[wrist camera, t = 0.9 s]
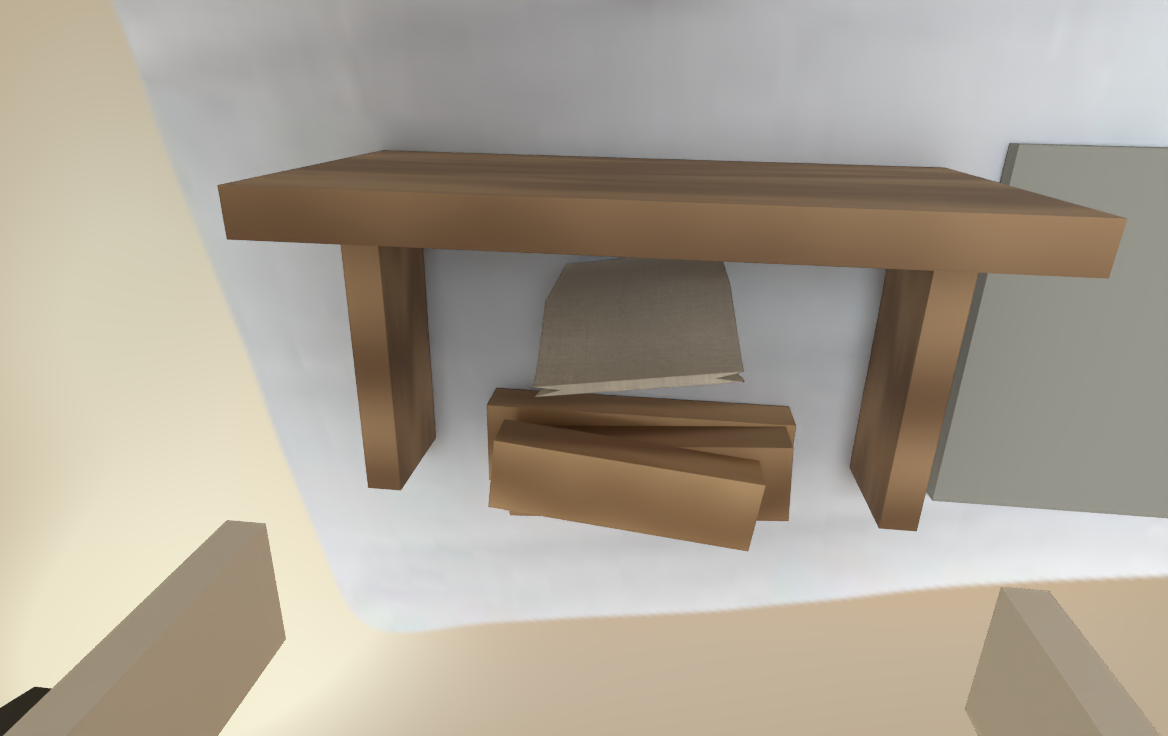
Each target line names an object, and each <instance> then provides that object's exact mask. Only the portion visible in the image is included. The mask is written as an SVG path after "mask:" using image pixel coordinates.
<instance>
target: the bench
mask: <svg viewBox="0 0 1168 736" xmlns="http://www.w3.org/2000/svg"><path fill="white" fill-rule="evenodd" d="M218 191H219V197H220V202H221V208H222V214H223V220H224V225H225V231H226V237H227V239H231V240H253V241H275V242H298V243H320V244H341V252H342V260H343V269H344V278H345V287H346V296H347V305H348V313H349V322H350V331H351V340H352V349H353V358H354V366H355V375H356V384H357V393H358V402H359V411H360V420H361V428H362V437H363V446H364V455H365V464H366V473H367V481H368V488H378V489H391V490H401V489H402V488H403V486H404V485H405V483H406V482H407V480H408V479H409V477H410V476H411V474H412V473H413V471H414V470H415V468H416V467H417V465H418V464H419V462H420V461H421V459H422V458H423V456H424V455H425V453H426V452H427V450H428V449H429V447H430V446H431V444H432V443H433V441H434V440H435V438H436V435H435V421H434V406H433V391H432V377H431V362H430V348H429V333H428V318H427V304H426V289H425V275H424V260H423V248H432V249H455V250H477V251H500V252H522V253H545V254H567V255H590V256H612V257H634V258H657V259H679V260H702V261H724V262H747V263H769V264H791V265H814V266H836V267H859V268H881V269H887V272H886V277H885V282H884V288H883V293H882V298H881V304H880V309H879V314H878V320H877V325H876V330H875V336H874V341H873V346H872V352H871V357H870V362H869V368H868V373H867V378H866V384H865V389H864V394H863V400H862V405H861V410H860V415H859V421H858V426H857V431H856V437H855V442H854V447H853V453H852V458H851V463H850V469H851V471H852V473H853V475H854V478H855V480H856V482H857V484H858V486H859V488H860V490H861V492H862V494H863V496H864V498H865V500H866V502H867V504H868V506H869V509H870V511H871V513H872V515H873V517H874V519H875V521H876V523H877V525H878V527H879V528H882V529H894V530H907V531H917V528H918V523H919V519H920V515H921V511H922V507H923V503H924V498H925V494H926V490H927V486H928V482H929V477H930V473H931V469H932V465H933V461H934V457H935V452H936V448H937V444H938V440H939V436H940V431H941V427H942V423H943V419H944V415H945V411H946V406H947V402H948V398H949V394H950V390H951V385H952V381H953V377H954V373H955V369H956V364H957V360H958V356H959V352H960V348H961V344H962V339H963V335H964V331H965V327H966V323H967V318H968V314H969V310H970V306H971V302H972V298H973V293H974V289H975V285H976V281H977V277H978V273H993V274H1016V275H1038V276H1061V277H1083V278H1106V279H1109V277H1110V273H1111V270H1112V267H1113V264H1114V261H1115V257H1116V254H1117V251H1118V248H1119V245H1120V241H1121V238H1122V235H1123V232H1124V229H1125V225H1126V222H1127V218H1124V217H1120V216H1117V215H1113V214H1110V213H1106V212H1102V211H1099V210H1095V209H1092V208H1088V207H1084V206H1081V205H1077V204H1074V203H1070V202H1066V201H1063V200H1059V199H1056V198H1052V197H1048V196H1045V195H1041V194H1038V193H1034V192H1031V191H1027V190H1023V189H1020V188H1016V187H1013V186H1009V185H1005V184H1002V183H998V182H995V181H991V180H987V179H984V178H980V177H977V176H973V175H969V174H966V173H962V172H959V171H955V170H952V169H948V168H940V167H907V166H875V165H842V164H810V163H777V162H745V161H712V160H680V159H647V158H615V157H582V156H550V155H517V154H485V153H452V152H420V151H387V150H382V151H377V152H373V153H368V154H363V155H358V156H354V157H349V158H344V159H339V160H335V161H330V162H325V163H320V164H316V165H311V166H306V167H301V168H297V169H292V170H287V171H282V172H278V173H273V174H268V175H263V176H259V177H254V178H249V179H244V180H240V181H235V182H230V183H225V184H221V185H218Z"/></svg>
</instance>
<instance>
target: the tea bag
mask: <svg viewBox="0 0 1168 736" xmlns="http://www.w3.org/2000/svg"><path fill="white" fill-rule="evenodd" d="M740 372H744V369H743V364H742V359H741V353H740V347H739V340H738V334H737V327H736V320H735V314H734V307H733V300H732V293H731V286H730V282H729V279H728V276H727V273H726V270H725V266H724V263H723V261H702V260H679V259H657V258H634V257H630V258H620V259H610V260H600V261H590V262H580V263H571V264H566V266H565V268H564V269H563V271H562V273H561V275H560V276H559V278H558V280H557V282H556V283H555V285H554V287H553V289H552V290H551V292H550V294H549V296H548V297H547V299H546V301H545V309H544V317H543V326H542V334H541V343H540V351H539V358H538V364H537V371H536V376H535V380H534V385H533V387H537V388H543V389H542V390H541V391H540V392H539V393H538V394H537V395H536V396H535V397H541V396H555V395H568V394H582V393H596V392H610V391H624V390H638V389H652V388H666V387H680V386H693V385H707V384H721V383H735V382H744V380H743V378H742V377H741V376H740V375H739V374H738V373H740Z"/></svg>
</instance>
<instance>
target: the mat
mask: <svg viewBox="0 0 1168 736" xmlns="http://www.w3.org/2000/svg"><path fill="white" fill-rule="evenodd" d="M1000 183H1002V184H1005V185H1009V186H1013V187H1016V188H1020V189H1023V190H1027V191H1031V192H1034V193H1038V194H1041V195H1045V196H1048V197H1052V198H1056V199H1059V200H1063V201H1066V202H1070V203H1074V204H1077V205H1081V206H1084V207H1088V208H1092V209H1095V210H1099V211H1102V212H1106V213H1110V214H1113V215H1117V216H1120V217H1124V218H1127V222H1126V225H1125V229H1124V232H1123V235H1122V238H1121V241H1120V245H1119V248H1118V251H1117V254H1116V257H1115V261H1114V264H1113V267H1112V270H1111V273H1110V277H1109V279H1106V278H1083V277H1061V276H1038V275H1016V274H993V273H979V274H978V278H977V282H976V287H975V291H974V295H973V299H972V303H971V307H970V312H969V316H968V320H967V324H966V328H965V333H964V337H963V341H962V345H961V349H960V353H959V358H958V362H957V366H956V370H955V374H954V378H953V383H952V387H951V391H950V395H949V399H948V404H947V408H946V412H945V416H944V420H943V424H942V429H941V433H940V437H939V441H938V445H937V450H936V454H935V458H934V462H933V466H932V470H931V475H930V479H929V483H928V487H927V493H928V495H929V496H930V498H931V499H932V501H945V502H959V503H972V504H985V505H998V506H1012V507H1025V508H1038V509H1052V510H1065V511H1078V512H1092V513H1105V514H1118V515H1132V516H1145V517H1158V518H1168V148H1164V147H1128V146H1091V145H1055V144H1018V143H1010V144H1009V149H1008V153H1007V157H1006V161H1005V165H1004V170H1003V174H1002V178H1001V182H1000Z"/></svg>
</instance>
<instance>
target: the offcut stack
mask: <svg viewBox="0 0 1168 736" xmlns="http://www.w3.org/2000/svg"><path fill="white" fill-rule="evenodd" d="M539 392H540V391H534V390H518V389H503V388H496V390H495V392H494V393H493V395H492V397H491V399H490V400H489V402H488V404H487V427H488V454H489V480H491V482H490V494H489V506H488V507H492V508H498V509H504V510H510V515H525V516H545V517H551V518H556V519H562V520H568V521H574V522H580V523H586V524H591V525H597V526H603V527H609V528H615V529H621V530H626V531H632V532H638V533H644V534H650V535H656V536H661V537H667V538H673V539H679V540H685V541H691V542H696V543H702V544H708V545H714V546H720V547H726V548H731V549H737V550H743V551H748V550H749V546H750V542H751V539H752V535H753V531H754V527H755V524H756V520H757V521H788V519H789V505H790V491H791V476H792V462H793V444H794V437H795V431H796V424H795V421H794V419H793V416H792V414H791V411H790V408H789V407H784V406H769V405H753V404H737V403H722V402H706V401H690V400H675V399H659V398H644V397H628V396H612V395H597V394H568V395H555V396H541V397H535V396H536V395H537V394H538V393H539Z"/></svg>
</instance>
